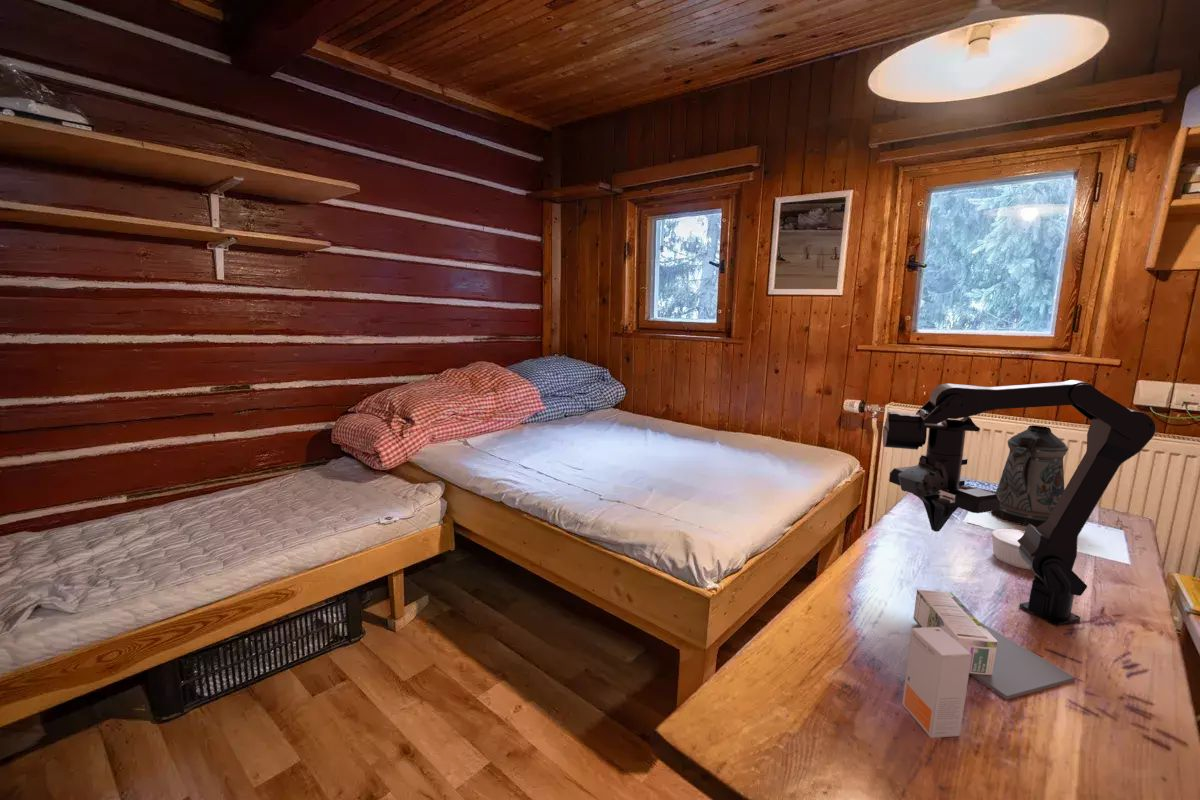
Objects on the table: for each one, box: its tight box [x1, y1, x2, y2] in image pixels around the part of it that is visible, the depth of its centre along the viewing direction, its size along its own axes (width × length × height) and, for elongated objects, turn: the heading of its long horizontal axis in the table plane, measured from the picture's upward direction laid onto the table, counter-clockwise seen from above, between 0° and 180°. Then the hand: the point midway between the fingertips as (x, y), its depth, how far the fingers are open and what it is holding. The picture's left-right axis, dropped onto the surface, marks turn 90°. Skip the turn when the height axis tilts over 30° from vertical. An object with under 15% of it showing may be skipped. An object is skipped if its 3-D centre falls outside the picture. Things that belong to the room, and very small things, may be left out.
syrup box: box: [913, 589, 998, 675], centre depth 87 cm, size 6×6×14 cm
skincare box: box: [901, 627, 972, 739], centre depth 71 cm, size 6×4×12 cm
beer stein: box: [991, 424, 1069, 527], centre depth 141 cm, size 16×19×25 cm
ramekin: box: [991, 528, 1031, 571], centre depth 118 cm, size 11×11×5 cm
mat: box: [969, 621, 1076, 701], centre depth 85 cm, size 14×16×1 cm
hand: (935, 530), depth 102 cm, fingers closed
